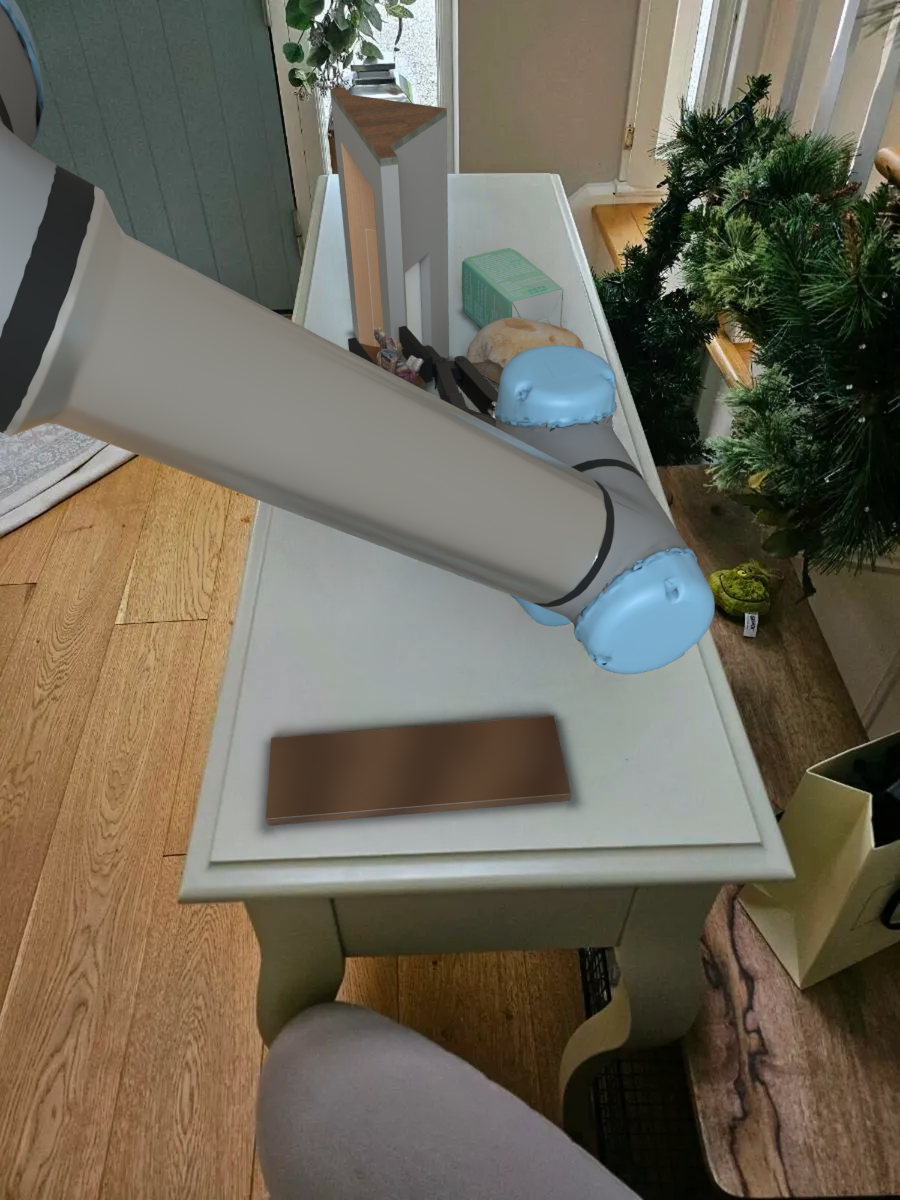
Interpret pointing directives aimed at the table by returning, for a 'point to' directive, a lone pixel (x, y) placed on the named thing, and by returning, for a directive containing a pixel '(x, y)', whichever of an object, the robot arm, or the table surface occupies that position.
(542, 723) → the board
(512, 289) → the box
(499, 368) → the stone
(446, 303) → the cabinet
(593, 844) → the table surface
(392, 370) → the figurine
